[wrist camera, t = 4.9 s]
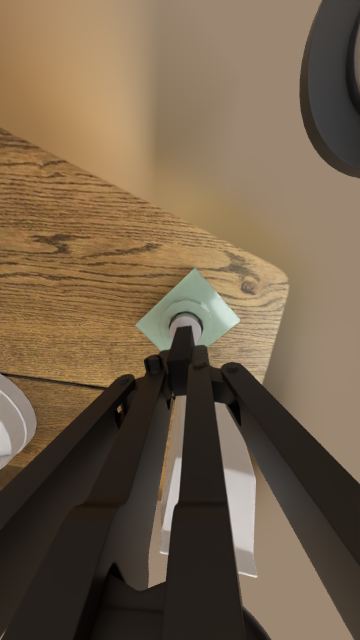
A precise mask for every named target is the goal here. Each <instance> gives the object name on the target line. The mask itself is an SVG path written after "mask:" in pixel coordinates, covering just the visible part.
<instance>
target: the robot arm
mask: <svg viewBox="0 0 360 640" xmlns="http://www.w3.org/2000/svg"><path fill="white" fill-rule="evenodd" d="M346 80H347V87H348V91H349V95H350V98H351V101H352V103H353V105H354V107H355V109H356V111H357V112H358V114H359V115H360V11H359V14H358V16H357V19H356V21H355V24H354V27H353V30H352V34H351V38H350V41H349V46H348V52H347V60H346ZM144 364H145V368H146V374H145V376H144V377H141V378H137V379H135V378H134V376H133V375H132V374H126V375H122V376H121V377H119V378H117V379H116V380H115V381H114V382H113V383H112V384H111V385H110V386H109V387H108V388H107V389H106V390H105V391H104V392H103V393H101V394H100V395H99V396H98V397H97V398H96V399H95V400H94V401H93V402H92V403H91V404H90V405H89V406H88V407H87V408H86V409H85V410H84V411H83V412H82V413H81V414H80V415H79V416H78V417H77V418H76V419H75V420H74V421H73V422H72V423H70V424H69V425H68V426H67V427H66V428H65V429H64V430H63V431H62V432H61V433H60V434H59V435H58V436H57V437H56V438H55V439H54V440H53V441H52V442H51V443H50V444H49V445H48V446H47V447H46V448H45V449H44V450H43V451H42V452H41V453H39V454H38V455H37V456H36V457H35V458H34V459H33V460H32V461H31V462H30V463H29V464H28V465H27V466H26V467H25V468H24V469H23V470H22V471H21V472H20V473H19V474H18V475H17V476H16V477H15V478H14V479H13V480H12V481H11V482H9V483H8V484H7V485H6V486H5V487H4V488H3V489H2V490H1V491H0V637H1V636H2V634H3V633H4V632H5V633H4V635H3V637H2V639H1V640H271V638H270V637H269V635H268V634H267V632H266V631H265V630H264V629H263V627H262V626H261V625H260V624H259V623H258V621H257V620H256V619H255V618H254V616H252V614H251V613H250V612H248V611H247V610H246V608H245V607H244V606H243V605H242V597H241V590H240V582H239V575H238V568H237V561H236V554H235V547H234V540H233V532H232V525H231V518H230V510H229V503H228V496H227V489H226V481H225V474H224V467H223V460H222V452H221V445H220V438H219V431H218V423H217V416H216V409H215V402H217V403H223V404H225V405H226V408H227V410H228V412H229V413H230V415H231V417H232V419H233V421H234V423H235V424H236V426H237V428H238V430H239V432H240V433H241V435H242V437H243V439H244V441H245V443H246V444H247V446H248V448H249V450H250V452H251V453H252V455H253V457H254V459H255V461H256V463H257V464H258V466H259V468H260V470H261V472H262V473H263V475H264V477H265V479H266V481H267V482H268V484H269V486H270V488H271V490H272V491H273V494H274V495H275V497H276V499H277V501H278V502H279V504H280V506H281V508H282V510H283V512H284V513H285V515H286V517H287V519H288V521H289V523H290V524H291V526H292V528H293V530H294V532H295V534H296V535H297V537H298V539H299V540H300V543H301V544H302V546H303V548H304V550H305V552H306V554H307V555H308V557H309V559H310V561H311V562H312V564H313V566H314V568H315V570H316V572H317V574H318V575H319V577H320V579H321V581H322V583H323V584H324V586H325V588H326V590H327V592H328V594H329V595H330V597H331V599H332V601H333V603H334V604H335V606H336V608H337V610H338V612H339V613H340V615H341V617H342V619H343V621H344V623H345V625H346V626H347V628H348V630H349V631H350V633H351V635H352V637H353V638H354V640H360V484H359V483H358V482H357V481H356V480H355V479H354V478H353V477H352V476H351V475H350V474H349V473H348V472H347V471H346V470H345V469H344V468H343V467H342V466H341V465H340V464H339V463H338V462H337V461H336V460H335V459H334V458H333V457H332V456H331V455H330V454H329V452H327V451H326V450H325V448H323V446H322V445H321V444H320V443H319V442H318V441H317V440H316V439H315V438H314V437H313V436H312V435H311V434H310V433H309V432H308V431H307V430H306V429H305V428H304V427H303V426H302V425H301V424H300V423H299V422H298V421H297V420H296V419H295V418H294V417H293V416H292V415H291V414H290V413H289V412H288V411H287V410H286V409H285V408H284V407H283V406H282V405H281V404H280V403H279V402H278V401H277V400H276V399H275V398H274V397H273V396H272V395H271V394H270V393H269V392H268V391H267V390H266V389H265V388H264V387H263V386H262V385H261V384H260V383H259V382H258V381H257V380H256V379H255V378H254V376H253V375H252V374H251V373H250V372H249V371H248V370H247V369H246V368H245V367H244V366H243V365H241V364H239V363H235V362H230V363H226V364H224V365H223V366H222V367H221V369H218V368H214V367H212V366H210V364H209V359H208V353H207V347H206V346H205V345H196V346H195V343H194V337H193V331H192V325H190V326H183V327H177V328H176V332H175V335H174V338H173V341H172V344H171V348H170V349H168V350H162V351H161V352H160V353H159V355H151V356H149V357H147V358H146V359H145V360H144ZM172 391H173V394H174V396H185V395H186V408H185V421H184V435H183V448H182V461H181V475H180V488H179V499H178V503H177V504H176V505H175V506H174V510H173V515H172V523H171V533H170V543H169V553H168V564H167V576H166V581H165V582H163V583H160V584H158V585H155V586H153V587H151V588H148V579H149V578H148V577H149V571H148V554H149V547H150V541H151V534H152V528H153V522H154V516H155V510H156V504H157V498H158V492H159V485H160V479H161V473H162V467H163V461H164V455H165V449H166V442H167V436H168V430H169V424H170V418H171V412H172V406H173V398H172ZM119 406H121V409H122V410H121V411H120V412H119V413H118V411H117V408H118V407H119ZM5 630H6V631H5Z"/></svg>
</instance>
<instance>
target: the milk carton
mask: <svg viewBox="0 0 360 640" xmlns="http://www.w3.org/2000/svg"><path fill="white" fill-rule="evenodd" d="M185 408H186V395H185V396H176V400H175V407H174V414H173V421H172V428H171V435H170V443H169V450H168V457H167V464H166V471H165V478H164V485H163V492H162V499H161V506H160V510H161V527H162V532H161V540H160V548H159V552H160V553H162V554H166V555H168V553H169V543H170V533H171V523H172V515H173V510H174V506H175V505H176V504H177V503H178V499H179V488H180V475H181V461H182V448H183V435H184V421H185ZM215 409H216V416H217V423H218V431H219V438H220V445H221V452H222V460H223V467H224V474H225V481H226V489H227V496H228V503H229V510H230V518H231V525H232V532H233V540H234V547H235V554H236V561H237V568H238V573H240V574H244V575H248V576H252V577H256V578H257V577H258V574H257V569H256V564H255V559H254V554H253V545H254V518H255V517H254V516H255V490H256V478H255V475H254V471H253V467H252V464H251V460H250V457H249V454H248V450H247V447H246V443H245V441H244V439H243V437H242V435H241V433H240V432H239V430H238V428H237V426H236V424H235V423H234V421H233V419H232V417H231V415H230V413H229V412H228V410H227V408H226V405H225V404H223V403H217V402H215Z"/></svg>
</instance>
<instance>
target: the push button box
mask: <svg viewBox="0 0 360 640" xmlns="http://www.w3.org/2000/svg"><path fill="white" fill-rule="evenodd" d="M182 313H190V314H193V315H194V316H196V317H197V318H198V320H199V322H200V325H201V337H200V339H199V341H198V342H197V343H196V344H195V346H196V345H205V346H206V347H208V346H210V345H211V344H212V343H213V342H215V341H216V340H217V339H219V338H220V337H221V336H222V335H224V334H225V333H226V332H228V331H229V330H230V329H231V328H233V327H234V326H235V325H236V324H238V323H239V322H240V321H241V320H240V318H239V317H238V316H237V315H236V314H235V313H234V312H233V310H232V309H231V308H230V307H229V306H228V305H227V304H226V302H225V301H224V300H223V299H222V298H221V297H220V296H219V294H218V293H217V292H216V291H215V290H214V289H213V288H212V286H211V285H210V284H209V283H208V282H207V281H206V280H205V278H204V277H203V276H202V275H201V274H200V273H199V272H198V270H197V269H196V268H194V269H193V270H192V271H191V272H190V273H189V274H188V275H187V276H185V277H184V278H183V279H182V280H181V281H180V282H179V283H178V284H177V285H176V286H175V287H174V288H173V289H172V290H171V291H170V292H169V293H168V294H167V295H166V296H165V297H163V298H162V299H161V300H160V301H159V302H158V303H157V304H156V305H155V306H154V307H153V308H152V309H151V310H150V311H149V312H148V313H147V314H146V315H145V316H144V317H143V318H141V319H140V320H139V321H138V322H137V323H136V324H135V326H136V327H137V328H138V329H139V330H140V331H141V332H142V333H143V334H144V335H145V336H146V337H147V338H148V339H149V340H150V341H152V342H153V343H154V344H155V345H156V346H157V347H158V348H159V349H160V350H161V351H162V350H168V349H170V348H171V344H172V339H171V337H170V332H169V331H170V327H171V324H172V322H173V320H174V318H175V317H176V316H177V315H179V314H182Z"/></svg>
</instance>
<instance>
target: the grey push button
mask: <svg viewBox="0 0 360 640" xmlns="http://www.w3.org/2000/svg"><path fill="white" fill-rule="evenodd" d="M190 325H192V331H193V337H194V343H195V344H196V343H197V342H198V341H199V339H200V337H201V325H200V322H199V320H198V318H197V317H196V316H194V315H193V314H190V313H182V314H179V315H177V316H176V317H175V318H174V320H173V322H172V324H171V327H170V331H169V332H170V337H171V339H172V341H173V338H174V335H175V332H176V328H177V327H183V326H190Z"/></svg>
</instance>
